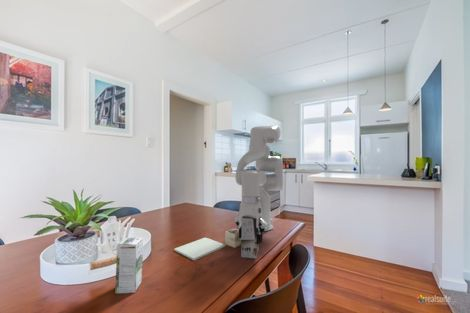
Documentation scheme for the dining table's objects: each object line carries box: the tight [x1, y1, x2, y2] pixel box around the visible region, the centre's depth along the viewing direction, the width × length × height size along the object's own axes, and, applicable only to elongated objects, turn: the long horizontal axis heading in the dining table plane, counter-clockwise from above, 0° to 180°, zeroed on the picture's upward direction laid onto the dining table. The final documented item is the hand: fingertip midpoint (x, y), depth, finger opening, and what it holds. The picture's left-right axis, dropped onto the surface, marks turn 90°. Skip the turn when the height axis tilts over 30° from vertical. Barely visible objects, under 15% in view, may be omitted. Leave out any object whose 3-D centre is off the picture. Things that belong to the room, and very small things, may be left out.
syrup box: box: [114, 237, 144, 295], centre depth 64 cm, size 6×6×14 cm
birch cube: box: [224, 228, 241, 249], centre depth 98 cm, size 6×6×6 cm
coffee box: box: [240, 216, 260, 259], centre depth 88 cm, size 9×6×16 cm
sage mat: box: [173, 237, 226, 261], centre depth 92 cm, size 18×14×1 cm
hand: (250, 240), depth 88 cm, fingers closed on coffee box, 9 cm apart
